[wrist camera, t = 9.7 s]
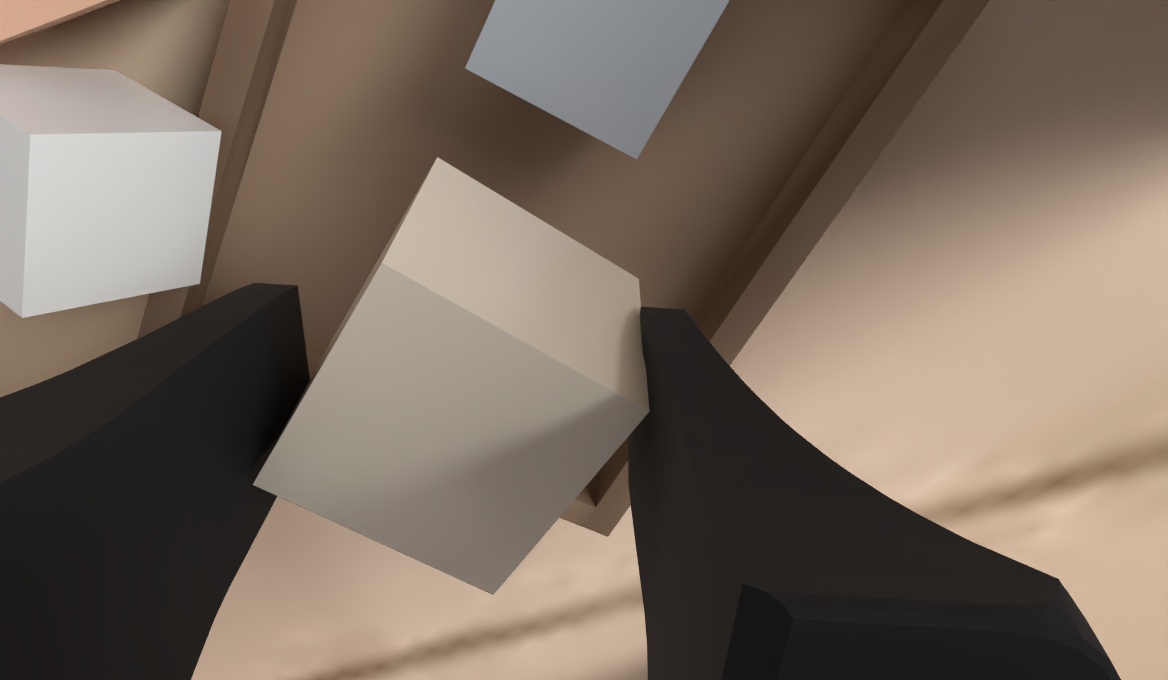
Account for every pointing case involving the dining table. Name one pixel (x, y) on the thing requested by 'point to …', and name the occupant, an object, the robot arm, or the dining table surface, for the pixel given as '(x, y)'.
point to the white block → (98, 189)
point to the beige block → (467, 386)
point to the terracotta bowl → (41, 15)
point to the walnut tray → (550, 155)
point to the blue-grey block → (595, 59)
